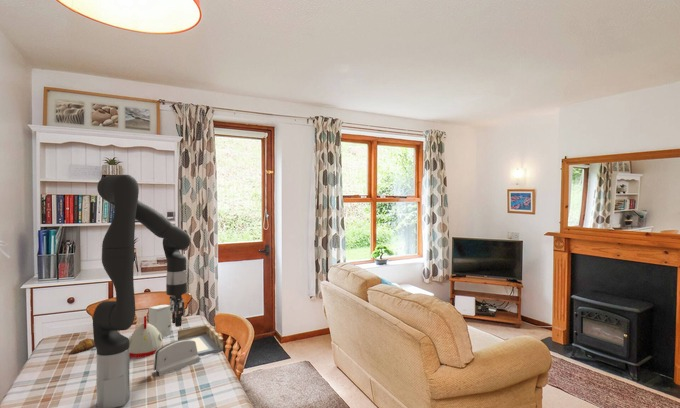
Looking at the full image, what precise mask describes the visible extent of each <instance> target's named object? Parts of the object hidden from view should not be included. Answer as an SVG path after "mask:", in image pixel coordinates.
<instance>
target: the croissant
mask: <svg viewBox="0 0 680 408" xmlns="http://www.w3.org/2000/svg"><path fill="white" fill-rule="evenodd" d="M94 348H96V347H95V345H94V338H85V339H82V340H81V341H79V342H78V344H76V345H75V346H74V347H73V348H72V349H71V351H70V354H71V355H75V354H79V353H82V352H86V351H88V350H89V351H90V350H91V349H94Z"/></svg>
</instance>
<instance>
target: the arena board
mask: <svg viewBox="0 0 680 408" xmlns="http://www.w3.org/2000/svg"><path fill="white" fill-rule="evenodd" d="M178 340H193V341H195V342H196V347H197V352H198V356H199V357H200V356H204V355H208V354H212V353H217V352H221V351H224V347H223V348H219V346H218V345H217V344H216V343H215V342H214V341H213V340H212V339H211V338H210V337H209V336H208V335H207V334H203V335H198V336H193V337H188V338H183V339H178V338H177V341H178Z"/></svg>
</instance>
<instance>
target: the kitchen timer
mask: <svg viewBox="0 0 680 408" xmlns="http://www.w3.org/2000/svg"><path fill="white" fill-rule="evenodd" d="M128 339H129V343H130V347H129V358H146V357H150V356H153V355H155V351H156V350H158V349H159V348H161V347H162V346H164V343H163V338H162V335H161V332H160V331H158V330H157V329H156V328H155V327H154V326H153V325H151V324H149V322H148V323H147V316H146V315H144V317H143V323H142V324H140V325H139V326H137V327H136V328H135V330H134V331H133V332H132V334H131V335H130V336H129V337H128Z"/></svg>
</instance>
